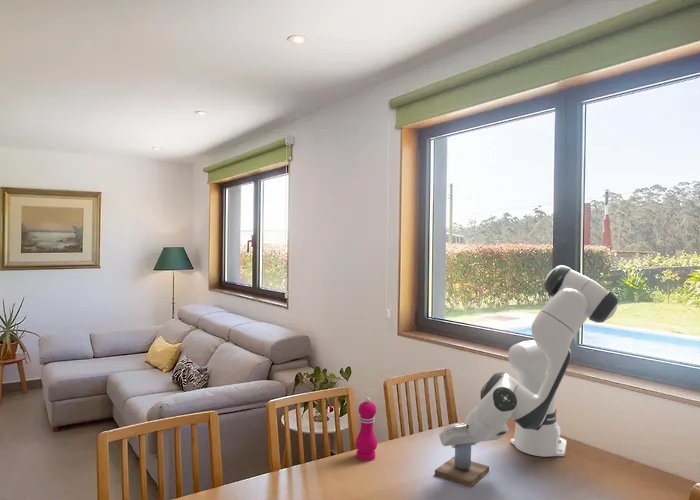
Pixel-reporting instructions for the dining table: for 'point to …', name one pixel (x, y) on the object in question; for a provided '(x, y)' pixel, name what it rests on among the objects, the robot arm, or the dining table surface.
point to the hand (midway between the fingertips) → (462, 444)
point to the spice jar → (463, 456)
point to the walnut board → (462, 472)
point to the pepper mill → (366, 432)
